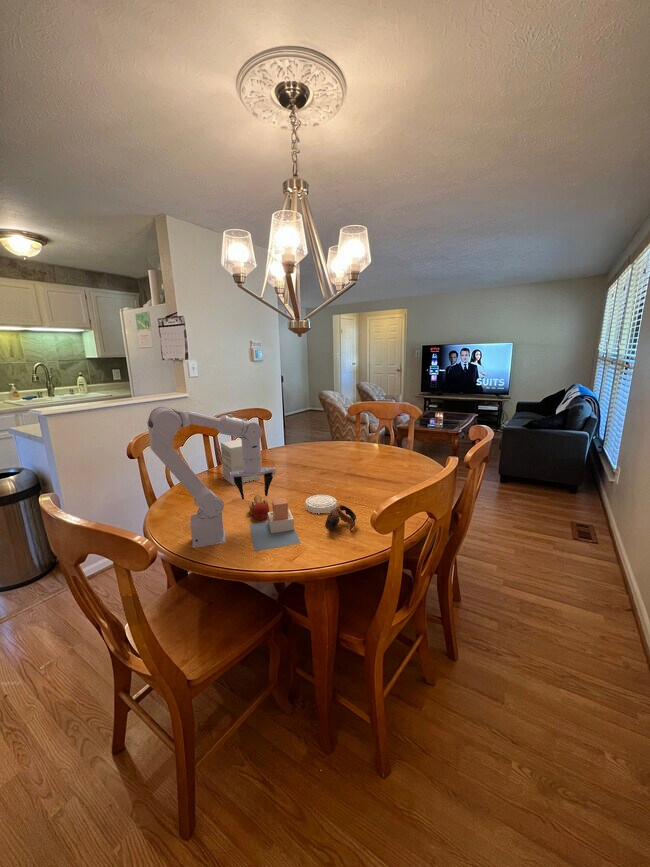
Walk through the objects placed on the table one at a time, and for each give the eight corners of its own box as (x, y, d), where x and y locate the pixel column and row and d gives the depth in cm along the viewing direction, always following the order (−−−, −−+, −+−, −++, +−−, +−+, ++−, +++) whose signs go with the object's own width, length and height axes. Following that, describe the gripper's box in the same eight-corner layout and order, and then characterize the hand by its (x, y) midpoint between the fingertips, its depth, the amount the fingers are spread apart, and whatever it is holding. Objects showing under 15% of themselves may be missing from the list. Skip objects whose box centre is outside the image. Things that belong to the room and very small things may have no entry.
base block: (271, 533, 109) (270, 522, 108) (268, 522, 116) (267, 512, 115) (294, 529, 111) (293, 519, 110) (289, 519, 118) (289, 509, 117)
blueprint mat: (254, 552, 99) (254, 551, 99) (249, 525, 115) (249, 524, 115) (300, 544, 103) (300, 543, 103) (290, 519, 119) (290, 518, 118)
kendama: (246, 506, 132) (248, 521, 115) (247, 490, 132) (250, 503, 115) (265, 507, 134) (270, 522, 117) (267, 492, 134) (272, 504, 117)
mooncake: (300, 505, 130) (299, 497, 129) (327, 499, 135) (327, 491, 135) (313, 518, 120) (313, 509, 119) (342, 511, 125) (342, 502, 124)
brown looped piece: (330, 519, 119) (342, 501, 118) (350, 537, 115) (363, 518, 114) (313, 525, 109) (326, 505, 107) (334, 545, 105) (348, 525, 103)
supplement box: (248, 471, 168) (246, 437, 164) (260, 479, 157) (258, 443, 154) (222, 477, 160) (219, 442, 157) (232, 485, 150) (229, 448, 146)
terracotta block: (274, 522, 110) (273, 504, 108) (272, 515, 114) (272, 499, 113) (288, 520, 111) (287, 503, 110) (286, 514, 115) (285, 497, 114)
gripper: (229, 463, 104) (232, 504, 107) (275, 458, 108) (278, 498, 111) (228, 457, 110) (231, 495, 113) (272, 452, 114) (274, 490, 117)
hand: (254, 496), depth 113 cm, fingers open, 7 cm apart
